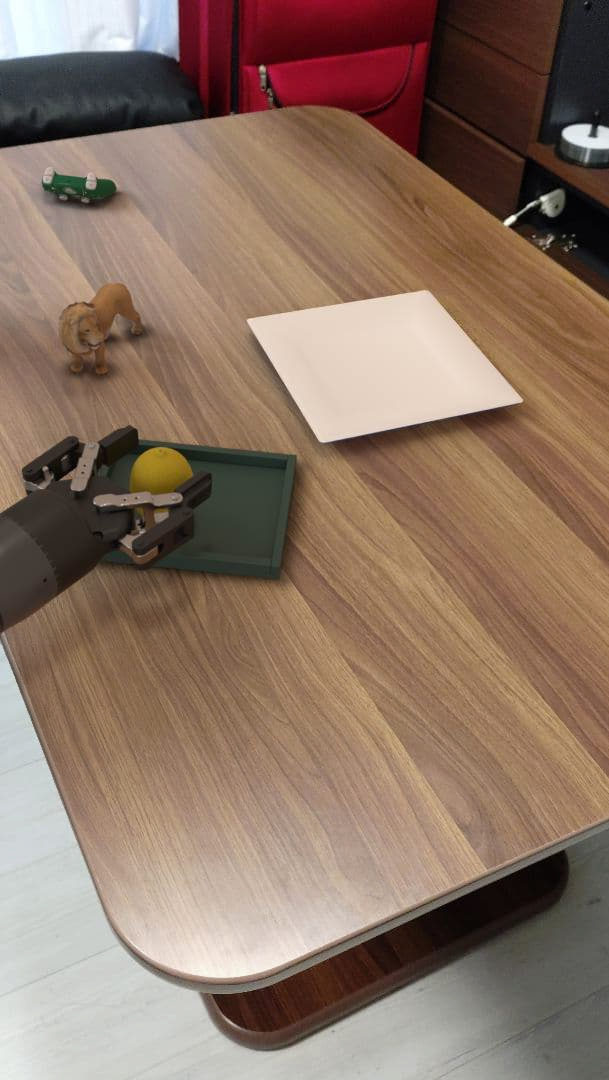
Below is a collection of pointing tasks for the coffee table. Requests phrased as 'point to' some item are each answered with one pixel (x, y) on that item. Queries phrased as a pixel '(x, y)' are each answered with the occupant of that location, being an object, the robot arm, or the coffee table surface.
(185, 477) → the lemon
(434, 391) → the plate
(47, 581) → the robot arm
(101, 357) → the lion figurine
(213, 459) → the tray
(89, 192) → the green piece
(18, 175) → the coffee table surface
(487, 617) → the coffee table surface
